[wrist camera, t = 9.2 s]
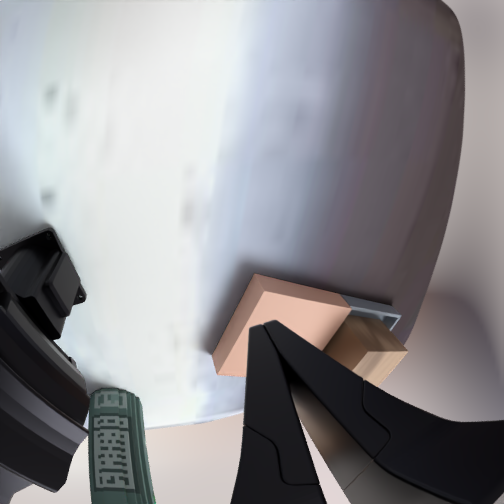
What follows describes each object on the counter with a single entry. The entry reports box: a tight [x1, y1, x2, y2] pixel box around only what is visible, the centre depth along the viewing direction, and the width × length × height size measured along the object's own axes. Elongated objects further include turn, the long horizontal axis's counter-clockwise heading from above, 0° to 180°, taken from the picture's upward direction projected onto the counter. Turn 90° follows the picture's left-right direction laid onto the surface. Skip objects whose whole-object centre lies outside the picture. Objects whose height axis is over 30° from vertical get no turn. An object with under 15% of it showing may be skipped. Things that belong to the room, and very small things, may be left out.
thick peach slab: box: [212, 273, 352, 377], centre depth 26 cm, size 10×10×2 cm
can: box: [88, 388, 156, 504], centre depth 21 cm, size 6×6×15 cm
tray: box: [340, 294, 402, 331], centre depth 31 cm, size 10×10×2 cm
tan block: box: [322, 315, 408, 387], centre depth 29 cm, size 6×6×8 cm
